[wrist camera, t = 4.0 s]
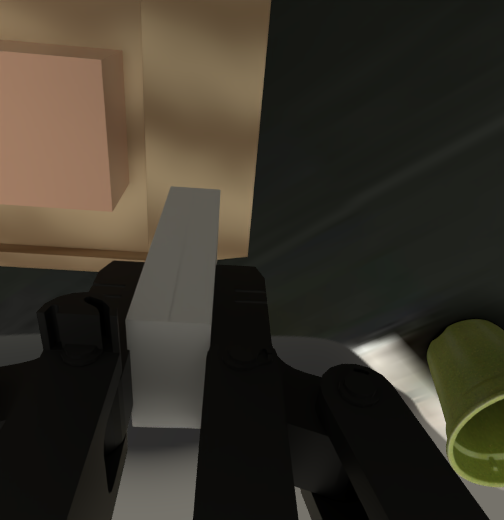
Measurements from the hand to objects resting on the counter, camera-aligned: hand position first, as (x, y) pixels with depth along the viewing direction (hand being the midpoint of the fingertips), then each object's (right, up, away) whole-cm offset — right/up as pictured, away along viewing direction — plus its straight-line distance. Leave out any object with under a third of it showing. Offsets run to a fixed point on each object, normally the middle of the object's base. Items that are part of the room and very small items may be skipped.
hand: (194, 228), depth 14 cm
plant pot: (+18, -8, +22) cm, 29 cm away
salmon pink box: (-9, +7, +10) cm, 15 cm away
